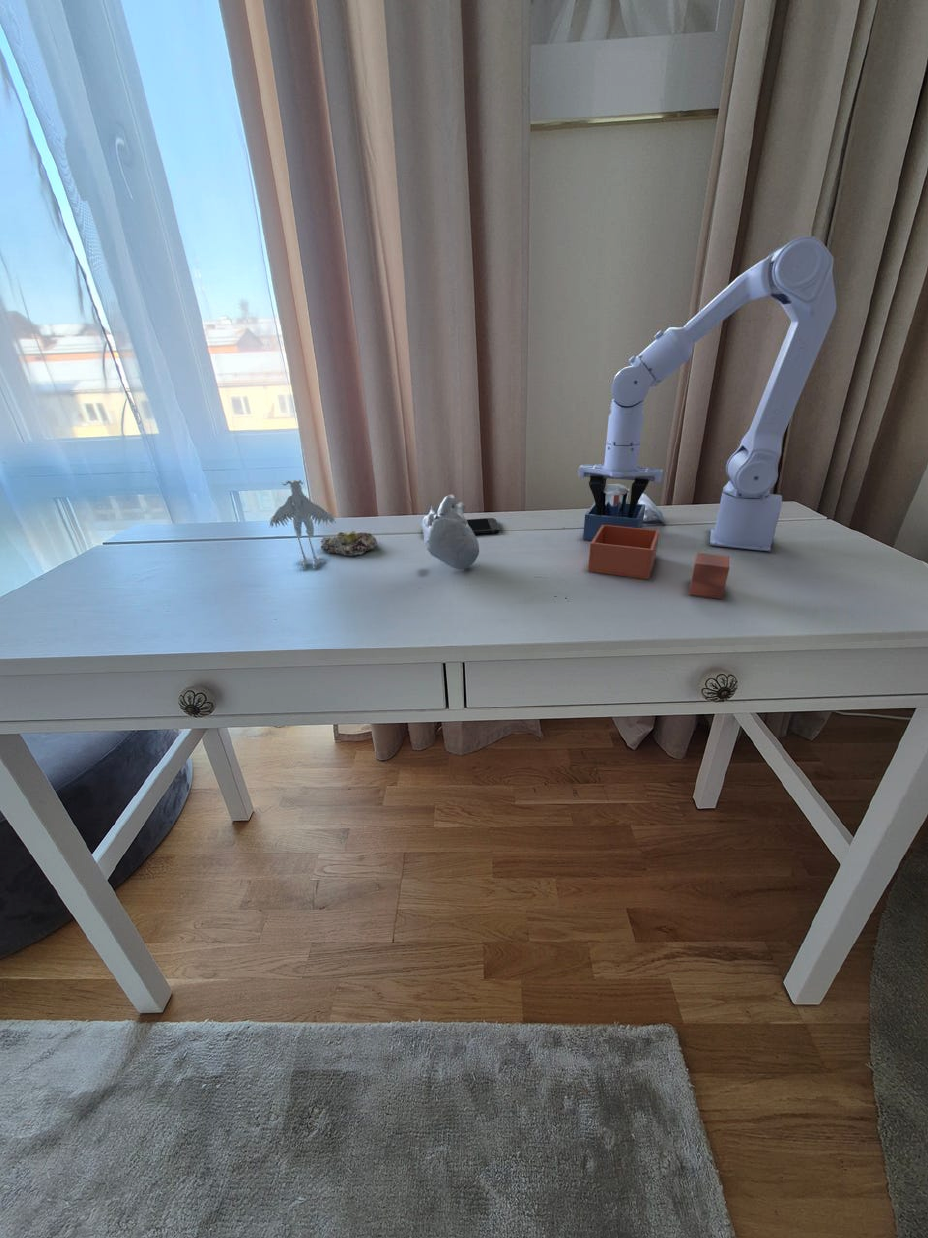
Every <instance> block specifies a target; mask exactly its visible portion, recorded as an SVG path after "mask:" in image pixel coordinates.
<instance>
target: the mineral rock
mask: <svg viewBox="0 0 928 1238" xmlns="http://www.w3.org/2000/svg"><path fill="white" fill-rule="evenodd" d="M377 543H378V541H377V538H376V537H375V535H373V534H372V533H370V532H362V531H361V532H356V531H355V530H352V531H349V532H344V531H343V532H342V531H340V532H338V534H337V535H334V536H330V537H325V536H324V537H322V538H321V540H320V544H321V546H320V549H322V550H323V551H325V553H327V554H332V555H344V556H346V557H350V556H353V557H355V556H362V555H363V554H365V553H366V552H368V551H370V550H373V549H374V547H376V546H377Z"/></svg>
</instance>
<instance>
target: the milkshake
mask: <svg viewBox="0 0 928 1238" xmlns="http://www.w3.org/2000/svg"><path fill="white" fill-rule="evenodd" d="M634 481H635V480H632V483H631V485H630V487H629V488H628V487H627V486H626V485H623V484H619V483H610V484H606V486H605V488H604V489H603V516H614V517H623V516H624V511H625V506H626V503H627V501H628V496H629V492H630V491H631V490H630V489H631V487H632V484H633V482H634Z"/></svg>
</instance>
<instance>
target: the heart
mask: <svg viewBox="0 0 928 1238" xmlns="http://www.w3.org/2000/svg"><path fill="white" fill-rule="evenodd" d="M465 508H466V505H465V504H464V502H463V501H459V502H457V500H456V497H455V495H454V494H453V493H451V494H448V495H447V496H444V498H443V500H442V501H441V502H440V504H439V506H438V507H435V506H432V505H431V506H430V511H429V513H428V514H427V515H425V516H424V517H423V519H422V522H421V530H422V534H423V542H424V545H425V548H426V550H427V551H428V553H429V554H430V555H431V556H432V557H434V558H435V559H437V560H439V561H441V562H443V563H445V564H446V565H448V566H449V567H450V568H452V569H456V570H467V569H469V568H470V567H471V566H472V565H473V564H474V563H475V562H476V561H477V559H478V558H479V554H480V544H479V541H478V539H477V536H476V534H474V533H473V531H472V529H471V528H470V526H469V525H468V522H467V518H465V516H464V510H465Z"/></svg>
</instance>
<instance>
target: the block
mask: <svg viewBox="0 0 928 1238" xmlns="http://www.w3.org/2000/svg"><path fill="white" fill-rule="evenodd" d="M729 572H730V555H724V554H713V553H704V552H696V553H695V559H694V564H693V569H692V574H691V579H690V584H689V585H690V586H689V591H688V595H689V596H694V597H695V596H696V597H704V598H711V599H716V600H723V596H724V593H725V588H726V584H727V580H728V576H729Z"/></svg>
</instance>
